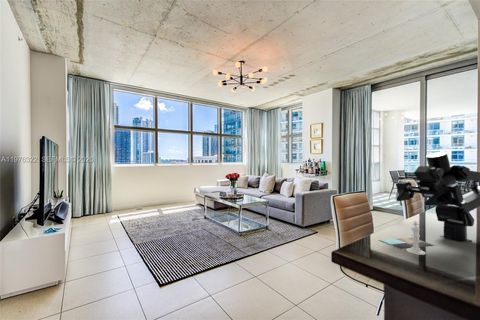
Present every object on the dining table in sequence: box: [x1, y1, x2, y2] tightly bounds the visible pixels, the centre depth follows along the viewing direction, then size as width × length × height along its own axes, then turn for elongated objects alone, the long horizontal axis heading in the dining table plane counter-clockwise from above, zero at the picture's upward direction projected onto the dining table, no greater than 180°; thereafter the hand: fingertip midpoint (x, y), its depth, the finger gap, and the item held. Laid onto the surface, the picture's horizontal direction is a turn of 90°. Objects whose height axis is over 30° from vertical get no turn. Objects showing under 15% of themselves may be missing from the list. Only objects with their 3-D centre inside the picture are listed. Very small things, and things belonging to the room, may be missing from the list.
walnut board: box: [378, 237, 437, 250], centre depth 78 cm, size 15×8×1 cm, turn 102°
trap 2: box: [411, 241, 434, 248], centre depth 76 cm, size 6×3×1 cm, turn 102°
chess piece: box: [406, 220, 426, 256], centre depth 70 cm, size 5×5×10 cm
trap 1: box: [392, 244, 413, 249], centre depth 74 cm, size 6×3×1 cm, turn 102°
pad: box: [379, 238, 407, 246], centre depth 79 cm, size 7×5×1 cm
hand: (410, 201), depth 75 cm, fingers open, 9 cm apart
